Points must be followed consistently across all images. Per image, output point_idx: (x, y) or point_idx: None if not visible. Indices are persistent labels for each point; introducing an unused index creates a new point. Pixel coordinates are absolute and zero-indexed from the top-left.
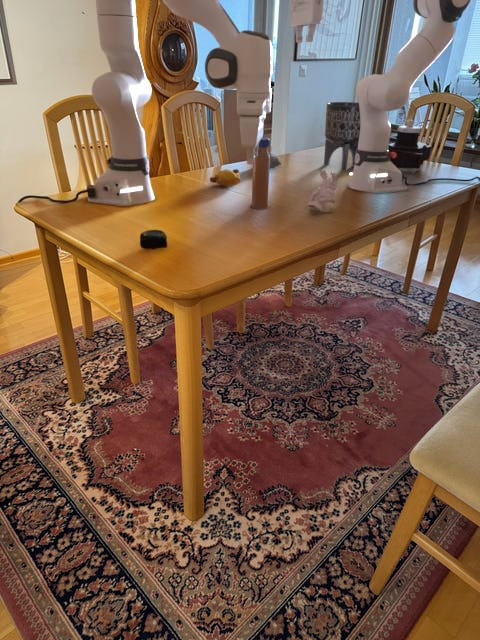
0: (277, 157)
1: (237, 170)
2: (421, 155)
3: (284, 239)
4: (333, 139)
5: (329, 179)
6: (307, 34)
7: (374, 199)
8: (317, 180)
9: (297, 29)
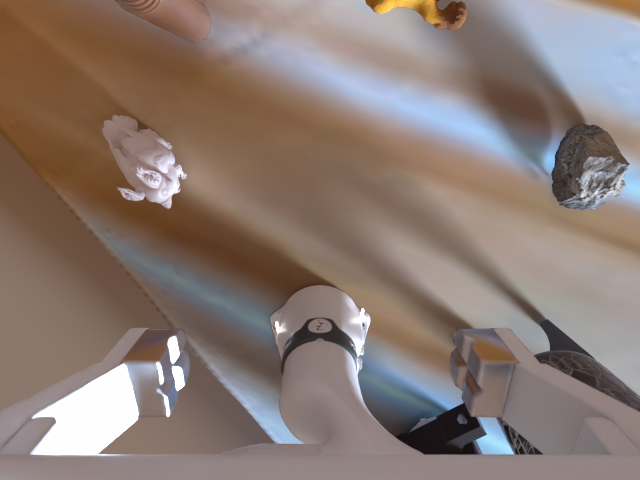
0: (580, 200)
1: (454, 19)
2: None
3: None
4: None
5: (148, 188)
6: (116, 368)
7: (232, 293)
8: (403, 246)
9: (581, 436)
